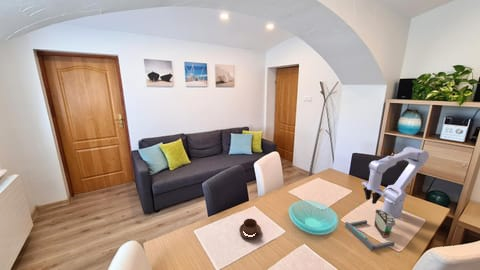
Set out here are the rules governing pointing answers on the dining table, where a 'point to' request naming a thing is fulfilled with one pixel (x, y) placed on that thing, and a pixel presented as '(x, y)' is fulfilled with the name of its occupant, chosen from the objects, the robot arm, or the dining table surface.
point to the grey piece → (363, 239)
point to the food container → (384, 223)
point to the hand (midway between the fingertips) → (370, 201)
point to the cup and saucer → (250, 228)
